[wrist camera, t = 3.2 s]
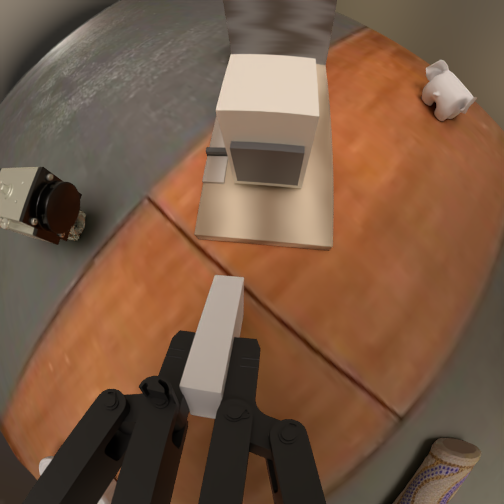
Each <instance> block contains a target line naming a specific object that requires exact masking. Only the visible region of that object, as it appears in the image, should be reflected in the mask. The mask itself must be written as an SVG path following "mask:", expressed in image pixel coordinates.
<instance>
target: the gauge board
mask: <svg viewBox="0 0 504 504" xmlns="http://www.w3.org/2000/svg"><path fill="white" fill-rule="evenodd" d="M336 2H337V0H223V3H224V9H225V16H226V22H227V28H228V35H229V41H230V48H231V54H265V55H284V56H296V57H306V58H314V59H316V71H317V84H318V101H319V120H318V124H317V128H316V132H315V137H314V141H313V145H312V149H311V153H310V157H309V161H308V165H307V169H306V173H305V177H304V181H303V185H302V188H291V187H280V186H268V185H255V184H239V183H234V179H233V175H232V171H231V167H230V163H229V160H228V156H227V155H215V154H207V161H206V166H205V171H204V176H203V181H202V182H203V188H202V193H201V198H200V204H199V210H198V216H197V222H196V228H195V234H194V235H195V236H196V237H197V238H198V239H205V240H217V241H228V242H240V243H251V244H263V245H274V246H285V247H296V248H307V249H318V250H328V251H329V250H330V249H331V248H332V247H333V153H332V133H331V117H330V104H329V93H328V83H327V74H326V66H325V65H326V60H327V54H328V49H329V44H330V38H331V32H332V27H333V21H334V15H335V9H336ZM210 147H222V148H225V144H224V140H223V136H222V133H221V129H220V125H219V121H218V117H217V116H216V120H215V124H214V129H213V133H212V138H211V142H210Z"/></svg>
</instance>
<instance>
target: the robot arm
mask: <svg viewBox="0 0 504 504" xmlns="http://www.w3.org/2000/svg"><path fill="white" fill-rule="evenodd" d="M243 311H244V277H233V276H222V275H215V277H214V280H213V282H212V285H211V288H210V291H209V294H208V297H207V300H206V303H205V306H204V309H203V312H202V316H201V319H200V322H199V325H198V328H197V331H196V333H194V332H187V331H181V330H180V331H179V332H178V333H177V334H176V335H175V336H174V337H173V338H172V341H171V343H170V346H169V349H168V351H167V354H166V357H165V359H164V362H163V364H162V367H161V370H160V373H159V375H158V376H151V377H148V378H146V379H145V380H143V381H142V382H141V384H140V385H139V388H140V389H141V391H142V393H143V394H132V395H123V394H122V393H121V392H120V391H119V390H116V389H107V390H105V391H103V392H102V393H101V394H100V395H99V396H98V397H97V399H96V400H95V401H94V403H93V404H92V405H91V407H90V408H89V409H88V411H87V412H86V413H85V415H84V416H83V417H82V419H81V420H80V421H79V423H78V424H77V425H76V427H75V428H74V429H73V431H72V432H71V434H70V435H69V436H68V438H67V439H66V440H65V442H64V443H63V445H62V446H61V447H60V449H59V450H58V452H57V453H56V455H55V456H54V457H53V459H52V460H51V462H50V463H49V465H48V466H47V467H46V469H45V470H44V472H43V473H42V475H41V476H40V478H39V479H38V481H37V482H36V484H35V485H34V487H33V488H32V490H31V491H30V493H29V494H28V496H27V497H26V499H25V500H24V502H23V503H22V504H97V503H98V502H99V500H100V499H101V497H102V496H103V494H104V493H105V491H106V490H107V488H108V486H109V485H110V483H111V482H112V480H113V479H114V477H115V476H116V474H117V473H118V471H119V469H120V468H121V470H120V473H119V476H118V480H117V483H116V487H115V490H114V494H113V497H112V501H111V504H170V502H171V498H172V493H173V489H174V484H175V480H176V476H177V471H178V467H179V463H180V458H181V454H182V450H183V446H184V442H185V437H186V433H187V429H188V421H187V417H188V413H189V411H190V414H191V415H196V416H201V417H207V418H213V419H215V423H214V428H213V433H212V438H211V443H210V448H209V453H208V458H207V463H206V468H205V473H204V478H203V483H202V488H201V493H200V498H199V503H198V504H242V501H243V494H244V487H245V480H246V472H247V465H248V457H249V452H252V453H254V454H256V455H259V456H262V457H264V458H265V459H266V464H267V469H268V474H269V479H270V484H271V489H272V494H273V499H274V504H326V501H325V498H324V494H323V490H322V486H321V483H320V479H319V475H318V471H317V468H316V464H315V460H314V457H313V453H312V449H311V446H310V442H309V438H308V435H307V431H306V429H305V427H304V426H303V425H302V424H301V423H300V422H298V421H295V420H292V419H284V420H282V421H280V420H277V419H275V418H272V417H269V416H267V415H265V414H263V413H262V412H261V411H260V410H259V409H258V407H257V405H256V402H255V397H256V388H257V379H258V369H259V359H260V346H259V344H258V341H257V339H249V338H240V332H241V326H242V320H243ZM121 466H122V467H121Z"/></svg>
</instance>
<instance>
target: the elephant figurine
mask: <svg viewBox="0 0 504 504" xmlns="http://www.w3.org/2000/svg"><path fill="white" fill-rule="evenodd" d="M426 76H427V78H428V80H429V81H430V82H429V83H428V84H427V85H426V86H425V87H424V89H423V92H422V100H423V102H424V103H425V104H427V105H429V106H431V105H432V104H433V102H436V110H435V111H434V115H435V116H436V118H437V119H438V120H440V121H444V120H445V119H447V118H448V119H452V118H454V117H456V116H457V115H458V114H459V113H460V112H462V113H464V114H465V113H466V112H467V110H468V108H469V107H470V105H472V104H473V102H474V101H475V100H476V99H477V97H474V98H473V96H472V94H471V93H470V92H469V91H468V90H467V88H466V87H465V86H464V85H463V84H462V83H461V82H460V80H459V79H458V78H457V77H456V76H455V75H454V74H453V73H452V72H450V71H449V69H448V65H447V64H446V62H445V61H444V60H440V61H438V62H436V63H434V64H432V65H431V66H429V67H427V68H426Z"/></svg>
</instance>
